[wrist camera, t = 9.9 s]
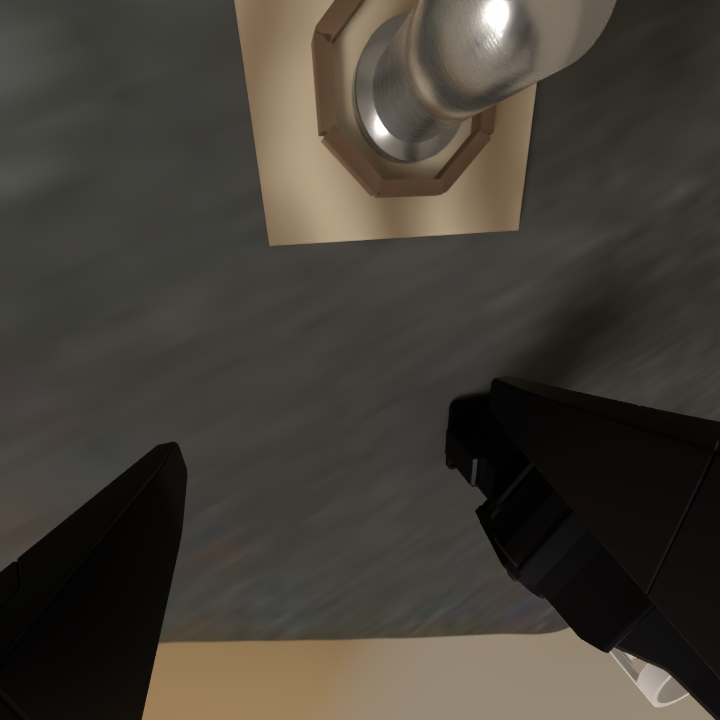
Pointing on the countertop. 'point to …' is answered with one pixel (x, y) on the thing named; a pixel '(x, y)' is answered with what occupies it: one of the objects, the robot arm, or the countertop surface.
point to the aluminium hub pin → (461, 65)
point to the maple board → (349, 148)
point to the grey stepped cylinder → (652, 681)
